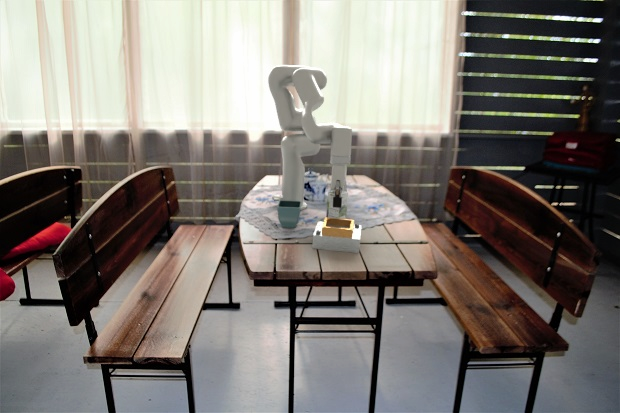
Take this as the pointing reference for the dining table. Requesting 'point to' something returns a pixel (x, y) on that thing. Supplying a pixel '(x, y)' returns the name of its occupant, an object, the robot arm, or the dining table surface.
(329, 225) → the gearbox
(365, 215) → the dining table surface
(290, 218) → the flower pot
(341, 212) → the syrup box
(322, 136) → the robot arm
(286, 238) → the dining table surface
